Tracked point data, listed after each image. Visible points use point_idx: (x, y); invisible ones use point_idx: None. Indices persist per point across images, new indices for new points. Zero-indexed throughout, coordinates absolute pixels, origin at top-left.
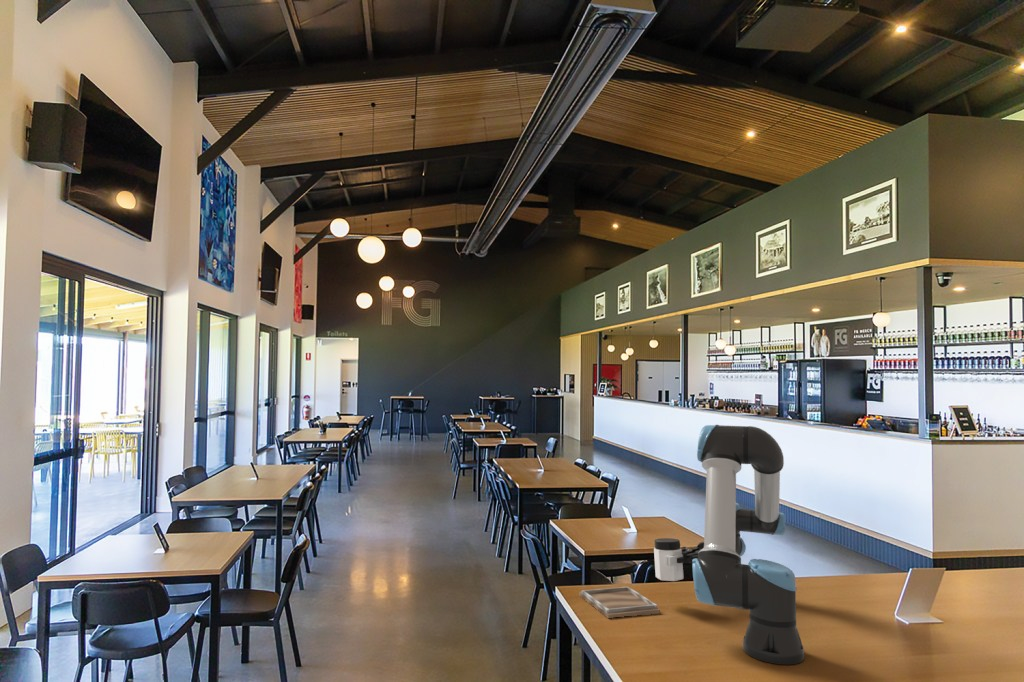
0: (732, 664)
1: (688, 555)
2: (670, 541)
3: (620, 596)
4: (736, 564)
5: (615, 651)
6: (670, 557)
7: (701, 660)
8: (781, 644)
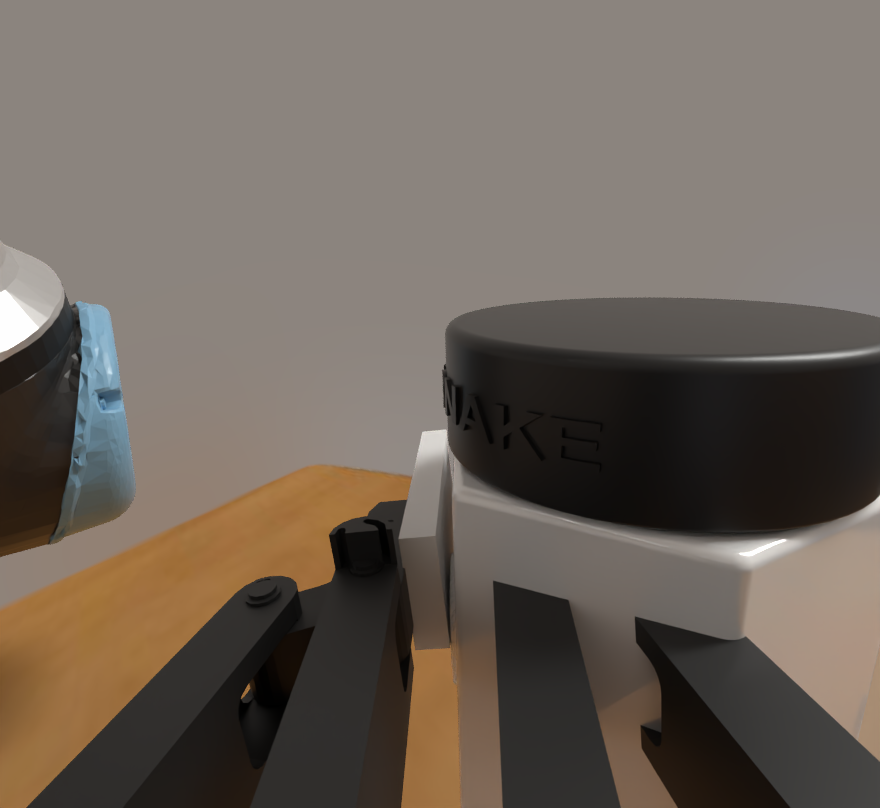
0: (32, 623)
1: (328, 591)
2: (513, 311)
3: (876, 712)
4: None
5: (375, 487)
6: (423, 435)
7: (145, 580)
8: None
